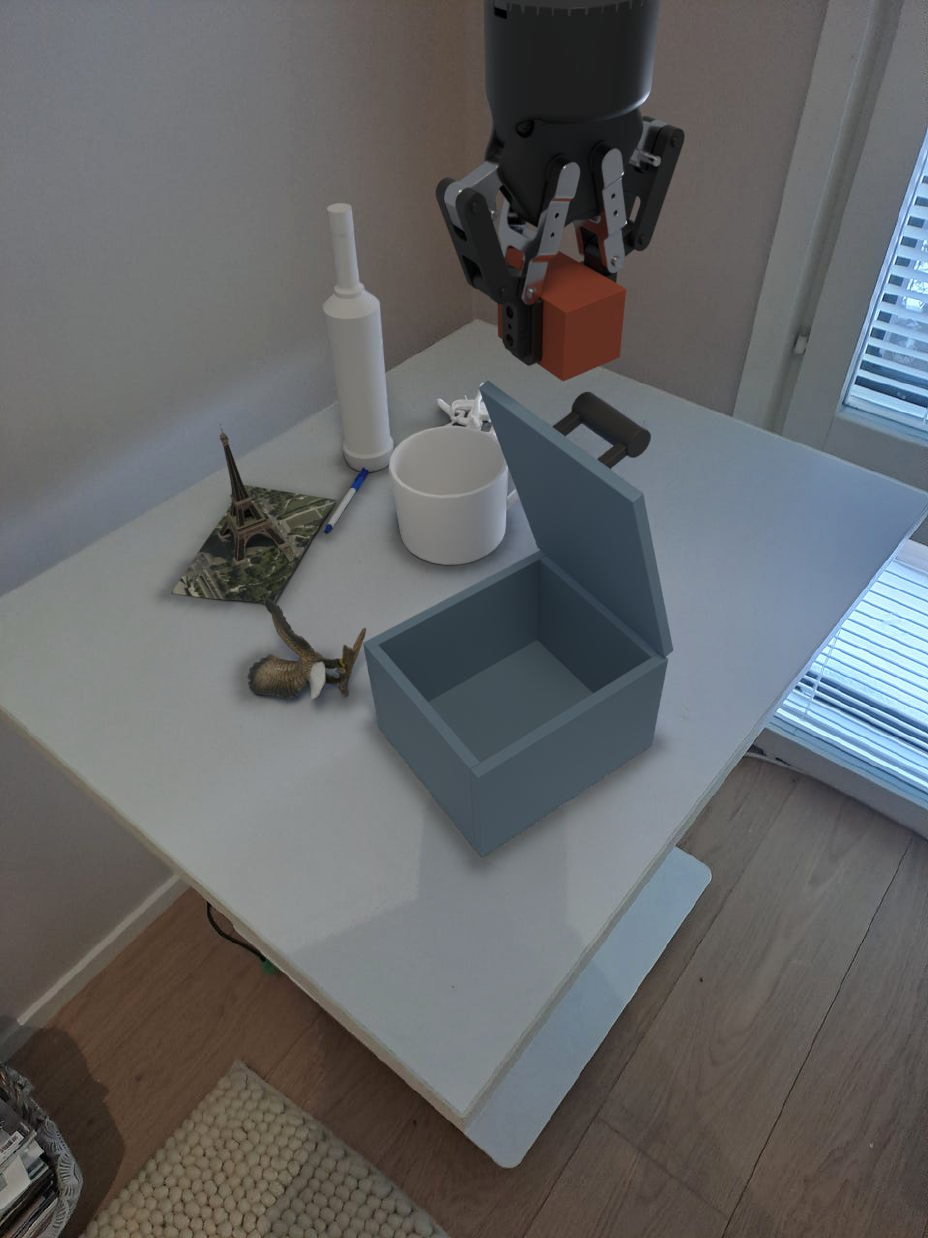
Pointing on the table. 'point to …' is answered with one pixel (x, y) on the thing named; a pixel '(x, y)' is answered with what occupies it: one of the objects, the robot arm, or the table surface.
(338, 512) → the ballpoint pen
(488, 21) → the robot arm
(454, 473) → the mug
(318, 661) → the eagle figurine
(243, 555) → the eiffel tower figurine
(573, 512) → the box lid
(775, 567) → the table surface
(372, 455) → the bottle
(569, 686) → the blue-grey box
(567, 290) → the terracotta brick block
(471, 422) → the figurine
